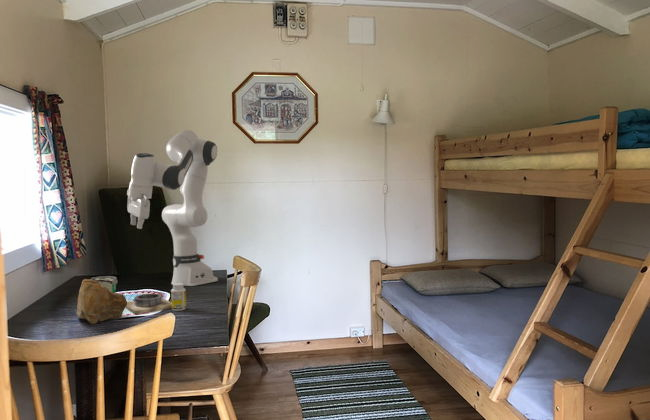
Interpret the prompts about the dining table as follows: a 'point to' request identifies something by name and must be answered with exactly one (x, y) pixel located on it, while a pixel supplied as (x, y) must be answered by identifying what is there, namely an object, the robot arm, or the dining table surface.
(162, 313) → the dining table surface
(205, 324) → the dining table surface
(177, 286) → the supplement bottle
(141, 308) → the birch board
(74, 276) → the dining table surface
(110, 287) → the food container
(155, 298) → the grey segmented ring
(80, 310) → the rough brown rock
